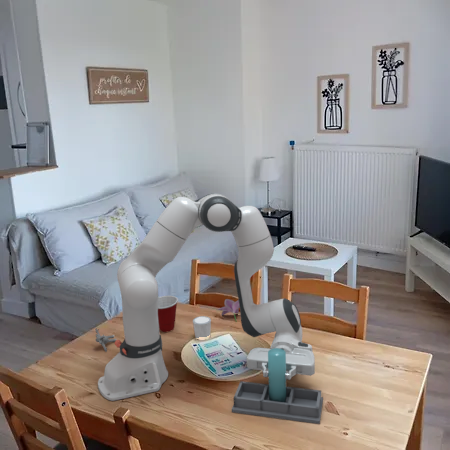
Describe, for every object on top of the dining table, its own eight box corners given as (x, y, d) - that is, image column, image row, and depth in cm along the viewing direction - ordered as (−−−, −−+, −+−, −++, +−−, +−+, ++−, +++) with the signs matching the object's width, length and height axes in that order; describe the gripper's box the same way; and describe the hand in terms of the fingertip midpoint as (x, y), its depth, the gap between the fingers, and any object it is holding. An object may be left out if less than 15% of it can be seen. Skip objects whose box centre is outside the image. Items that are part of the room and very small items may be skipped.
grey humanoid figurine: (124, 345, 184) (106, 347, 176) (114, 354, 186) (96, 357, 178) (113, 323, 188) (95, 324, 181) (104, 332, 190) (85, 333, 183)
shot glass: (209, 341, 183) (208, 324, 181) (191, 340, 184) (190, 323, 183) (213, 332, 190) (212, 316, 188) (196, 332, 191) (195, 315, 189)
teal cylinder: (275, 406, 140) (274, 359, 136) (265, 397, 145) (264, 351, 141) (289, 400, 143) (289, 353, 139) (279, 391, 147) (278, 346, 143)
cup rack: (231, 412, 143) (231, 400, 141) (240, 390, 153) (240, 378, 152) (319, 424, 136) (319, 411, 135) (322, 400, 146) (323, 388, 145)
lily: (253, 317, 203) (246, 294, 205) (246, 319, 192) (240, 295, 194) (226, 325, 206) (220, 302, 208) (218, 327, 194) (212, 303, 196)
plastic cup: (150, 325, 198) (147, 297, 195) (176, 320, 201) (174, 293, 198) (155, 337, 188) (152, 308, 185) (182, 332, 191) (180, 303, 188)
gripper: (251, 339, 155) (240, 362, 143) (317, 345, 150) (312, 370, 137) (251, 357, 157) (241, 381, 144) (316, 364, 152) (312, 390, 139)
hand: (276, 376), depth 141 cm, fingers closed on teal cylinder, 5 cm apart
